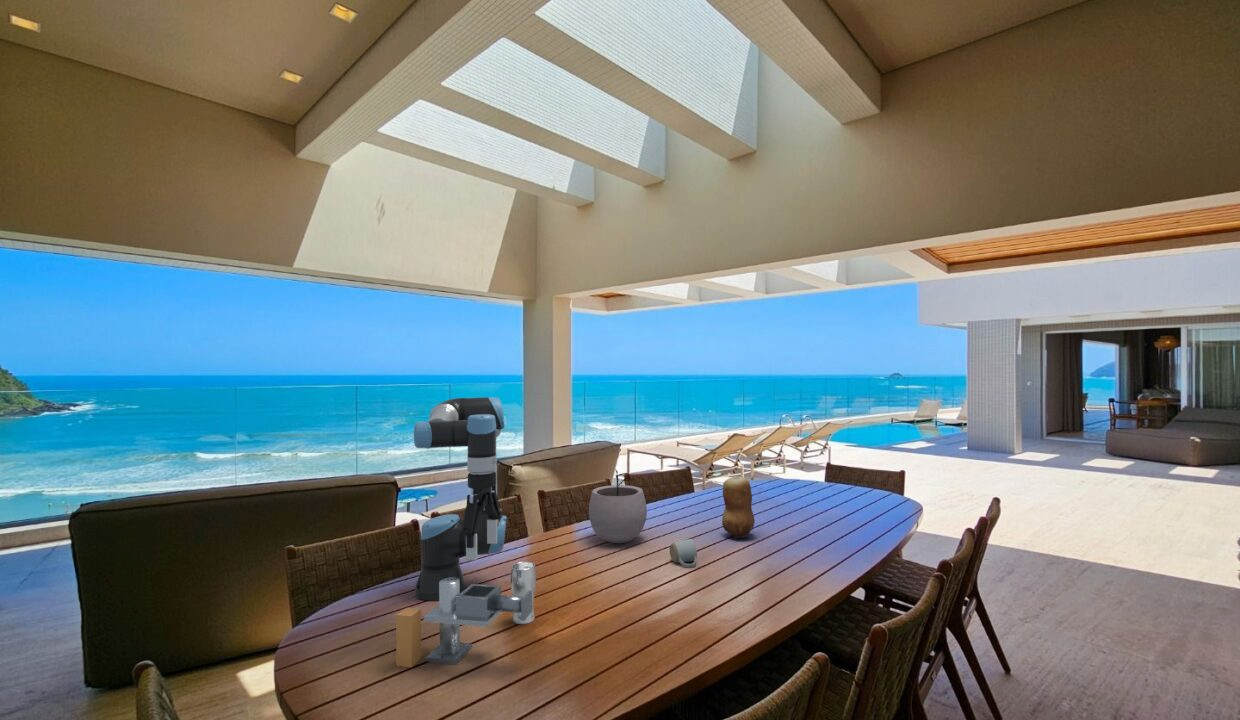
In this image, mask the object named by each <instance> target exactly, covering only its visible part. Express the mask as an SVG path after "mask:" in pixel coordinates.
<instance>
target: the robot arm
mask: <svg viewBox="0 0 1240 720" xmlns="http://www.w3.org/2000/svg"><path fill="white" fill-rule="evenodd" d="M504 416H505V415H504V409H503V405H502V401H501V400H500V398H498V397H491V396H490V397H489V396H485V397H455V398H450V399H447V400H445V401H442V402H440V403H438V404H436V405H435V406H434V407H433V408H432V409H431V411H430V413H429V416H428V417H429V418H428V421H427V420H424V421H418V422H415V424H414V427H413V444H414V446H415V448H417V449H428V450H429V449H432V448H433V449H434V448H435V449H436V448H439V449H440V448H452V447H453V448H457V447H467V458H466V459H467V460H466V461H467V463H466V464H467V468H466V469H467V472H468V474H467V487H468V488H470V494H467V495H466V506H465V511H464V516H463V519H462V518H461V519H460V515H459V514H456V513H454V514H453V513H448V514H443V515H439V516H435V517H432V518H430V519H428V520H426V521H425V522H423V524H422V526H421V534H420V540H421V541H420V547H421V549H420V550H421V553H420V554H421V555H420V556H421V557H420V561H421V565H420V572H419V575H418V579H417V582H416V585H415V597H417V598H418V599H420V600H424V601H439V582H440V580H442V579H445V578H449V577H456V578H459V583H460V593H461V592H463V591H464V590H465V589H466V579H465V577H464V574H463V571H462V567H461V565H460V558H461V557H465V560H466V561H478V556H482V555H492V554H499V553H501V552H502V551H503V549H504V544H505V537H506V528H507V516H506V515H503V510H502V509H501V507H500V503H499V500H498V473H497V472H498V469H497V468H498V467H497V465H498V464H497V463H498V459H497V456H498V455H497V438H498V437H499V436H500V435H501V431H502V430H504V429H505V419H504Z"/></svg>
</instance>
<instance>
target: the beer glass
mask: <svg viewBox="0 0 1240 720" xmlns="http://www.w3.org/2000/svg"><path fill="white" fill-rule="evenodd" d="M536 576H537V575H536V564H535V563H534V562H531V561H520V562H515V563H514V564H511V570H510V589H511V596H519V597H524V595H525V594H526V593H527V592H528V591H532V612H531V614H530V615H529V616H528V617H527V618H526V620H525V621H522V620H521V613H512V614H513V615H512V616H513V617H512V622H513V623H514V624H518V625H527V624H529V623H532V622H533V621H534V620H535V618H536V617H535V612H534V599H535V593H536V585H537V577H536Z"/></svg>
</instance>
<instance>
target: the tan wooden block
mask: <svg viewBox="0 0 1240 720" xmlns="http://www.w3.org/2000/svg"><path fill="white" fill-rule="evenodd" d="M395 617H396V619H395V620H396V621H395V626H396V629H395V631H396V632H395V633H396V637H395V638H396V639H395V640H396V641H395V642H396V643H395V645H396V654H395V655H396V657H395V659H396V660H395V661H396V667H404V668H405V667H406V668H412V667H414V666H415V665H416V664H417V663H418V662H419V661H420V660H422V610H421V608H414V607H405V608H403V610H401V611H400V612H398V613H396V616H395Z"/></svg>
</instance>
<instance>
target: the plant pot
mask: <svg viewBox="0 0 1240 720" xmlns="http://www.w3.org/2000/svg"><path fill="white" fill-rule="evenodd" d="M613 472H614V474H616V475H615V479H616V484H615V485H613V484H612V485H604V486H600V487H596V488H594V489H592V490H591V495H590V499H589V504H588V517H589V522H590V524H591V528H592V530H593V532H594V533H595V534H596V536H598V537H599V538H600V539H602V540H603V541H605V542H607V543H611V544H625V543H628V542H630V541H632V540H634V539H635V538H636V537H638V536H640V534H641V533H642V531H643V529H644V526H645V523H646V522H647V521H646V520H647V515H648V511H647V510H648V509H647V502H646V501H647V500H646V498H645V495H644V494H645V493H644V490H643V489H642V488H641V487H640V486H639V487H638V486H634V485H625V484H624V485H622V484H623V482H626V480H627V478H628V476H626V477H625V478H624V479H623V480H621V482H620V483H619V476H623V475H625V474H626V473H625V472H623V473H619V472H618V470H617V469H616V468H615V471H613ZM618 473H619V474H618Z"/></svg>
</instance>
